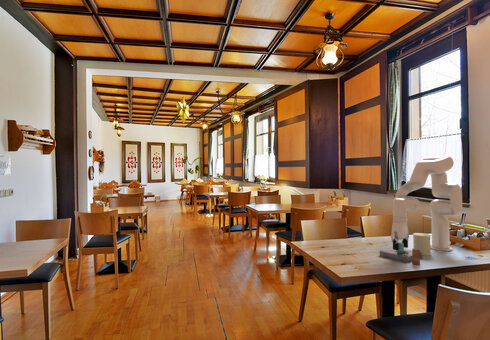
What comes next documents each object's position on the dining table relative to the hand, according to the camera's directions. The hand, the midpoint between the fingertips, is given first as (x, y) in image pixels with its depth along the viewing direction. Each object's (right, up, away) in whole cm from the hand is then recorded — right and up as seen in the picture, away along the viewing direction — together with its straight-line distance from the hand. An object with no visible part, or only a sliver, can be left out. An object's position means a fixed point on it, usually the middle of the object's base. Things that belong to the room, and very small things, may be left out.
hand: (400, 248), depth 170 cm
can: (+17, -5, +7) cm, 19 cm away
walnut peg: (+1, -5, -13) cm, 14 cm away
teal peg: (0, -5, 0) cm, 5 cm away
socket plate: (0, -5, 0) cm, 5 cm away
